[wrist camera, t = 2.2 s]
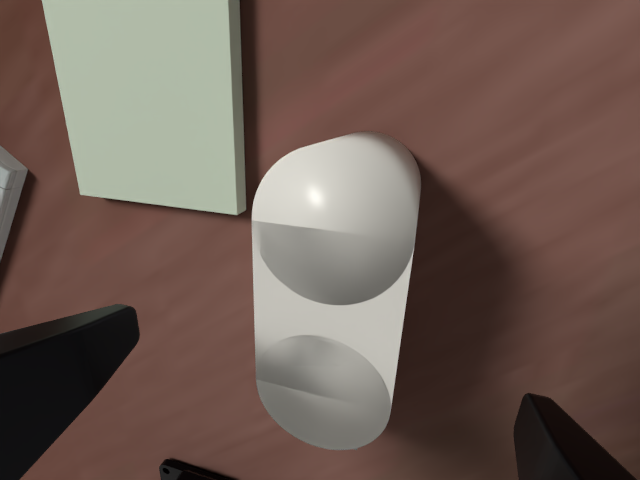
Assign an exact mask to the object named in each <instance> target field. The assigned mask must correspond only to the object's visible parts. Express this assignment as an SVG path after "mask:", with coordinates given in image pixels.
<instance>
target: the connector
mask: <svg viewBox="0 0 640 480" xmlns="http://www.w3.org/2000/svg"><path fill="white" fill-rule="evenodd" d="M420 194H421V176H420V171H419V168H418V165H417V163H416V161H415V159H414V157H413V155H412V154H411V153H410V151H409V150H408V149H407V148H406V147H405V146H404V145H403V144H402V143H401V142H399V141H398V140H396V139H395V138H393V137H391V136H389V135H386V134H383V133H380V132H374V131H362V132H356V133H352V134H349V135H345V136H341V137H338V138H334V139H331V140H327V141H324V142H320V143H317V144H313V145H309V146H306V147H303V148H299V149H297V150H295V151H293V152H291V153H289V154H287V155H286V156H284V157H283V158H281V159H280V160H279V161H278V162H276V163H275V164H274V165H273V166H272V167H271V168H270V170H269V171H268V172H267V173H266V175H265V176H264V178H263V179H262V181H261V183H260V185H259V187H258V189H257V191H256V195H255V198H254V202H253V208H252V248H253V285H254V322H255V359H256V384H257V389H258V393H259V396H260V399H261V401H262V403H263V405H264V407H265V408H266V410H267V411H268V413H269V414H270V416H271V417H272V418H273V419H274V420H275V421H276V422H277V423H278V424H279V425H280V426H281V427H282V428H283V429H284V430H286V431H287V432H288V433H290V434H291V435H293V436H294V437H296V438H298V439H300V440H301V441H304V442H306V443H308V444H311V445H314V446H317V447H321V448H325V449H331V450H349V449H355V450H357V448H359V447H362V446H365V445H367V444H368V443H370V442H372V441H373V440H375V439H376V438H377V437H378V436H379V435H380V434H381V433H382V432H383V430H384V429H385V427H386V425H387V423H388V421H389V417H390V412H391V405H392V398H393V391H394V385H395V378H396V371H397V364H398V357H399V350H400V343H401V336H402V329H403V322H404V315H405V308H406V301H407V294H408V287H409V280H410V273H411V266H412V259H413V252H414V245H415V237H416V228H417V220H418V211H419V203H420Z"/></svg>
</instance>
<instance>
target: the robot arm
mask: <svg viewBox="0 0 640 480" xmlns="http://www.w3.org/2000/svg"><path fill="white" fill-rule="evenodd" d="M139 336H140V333H139V326H138V320H137V314H136V310H135V309H134V308H133V307H131V306H127V305H122V304H115V305H112V306H108V307H104V308H100V309H96V310H92V311H88V312H84V313H80V314H76V315H72V316H68V317H64V318H60V319H57V320H53V321H49V322H45V323H41V324H37V325H33V326H29V327H25V328H21V329H17V330H13V331H9V332H5V333H1V334H0V480H20V478H21V477H22V476H23V475H24V474H25V473H26V472H27V471H28V470H29V469H30V468H31V466H32V465H33V464H34V463H35V462H36V461H37V460H38V459H39V458H40V457H41V456H42V454H43V453H44V452H45V451H46V450H47V449H48V448H49V447H50V446H51V445H52V444H53V443H54V441H55V440H56V439H57V438H58V437H59V436H60V435H61V434H62V433H63V432H64V431H65V429H66V428H67V427H68V426H69V425H70V424H71V423H72V422H73V421H74V420H75V419H76V417H77V416H78V415H79V414H80V413H81V412H82V411H83V410H84V409H85V408H86V407H87V406H88V404H89V403H90V402H91V401H92V400H93V399H94V398H95V397H96V395H97V394H98V393H99V392H100V390H101V389H102V388H103V387H104V385H105V384H106V383H107V382H108V380H109V379H110V378H111V376H112V375H113V374H114V373H115V371H116V370H117V369H118V367H119V366H120V365H121V364H122V362H123V361H124V360H125V358H126V357H127V356H128V355H129V353H130V352H131V351H132V350H133V348H134V347H135V346H136V344H137V342H138V340H139ZM514 444H515V452H516V460H517V469H518V477H519V480H637V479H636V478H635V477H633V476H632V475H631V474H630V473H629V472H628V471H627V470H626V469H625V468H624V467H623V466H622V465H621V464H620V463H619V462H618V461H617V460H616V459H614V458H613V457H612V456H611V455H610V454H609V453H608V452H607V451H606V450H605V449H604V448H603V447H602V446H601V445H600V444H599V443H598V442H596V441H595V440H594V439H593V438H592V437H591V436H590V435H589V434H588V433H587V432H586V431H585V430H584V429H583V428H582V427H581V426H580V425H579V424H577V423H576V422H575V421H574V420H573V419H572V418H571V417H570V416H569V415H568V414H567V413H566V412H565V411H564V410H563V409H562V408H561V407H560V406H558V405H557V404H556V403H555V402H554V401H553V400H552V399H551V398H549V397H545V396H541V395H536V394H531V393H527V394H525V395H524V397H523V399H522V402H521V405H520V408H519V411H518V415H517V418H516V421H515V425H514ZM159 470H160V476H161V480H229V479H226V478H223V477H220V476H217V475H214V474H211V473H208V472H205V471H202V470H199V469H196V468H193V467H190V466H187V465H184V464H181V463H178V462H175V461H172V460H169V459H165V460H164V461H163V463H162V464H161V465H160V467H159Z"/></svg>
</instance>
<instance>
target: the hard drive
mask: <svg viewBox="0 0 640 480" xmlns="http://www.w3.org/2000/svg"><path fill="white" fill-rule="evenodd" d="M27 171H28V169H27V168H26V167H25V166H24V165H23V164H21V163H20V162H19V161H18V160H17V159H15V158H14V157H13V156H12V155H11V154H10V153H8V152H7V151H6V150H5V149H4V148H3V147H1V146H0V261H1V258H2V255H3V251H4V248H5V245H6V241H7V238H8V235H9V231H10V228H11V225H12V221H13V218H14V215H15V211H16V208H17V205H18V201H19V198H20V194H21V191H22V188H23V185H24V181H25V178H26V175H27Z"/></svg>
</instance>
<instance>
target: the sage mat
mask: <svg viewBox="0 0 640 480" xmlns="http://www.w3.org/2000/svg"><path fill="white" fill-rule="evenodd" d="M42 3H43V8H44V13H45V18H46V23H47V28H48V33H49V38H50V43H51V48H52V53H53V59H54V64H55V69H56V74H57V79H58V84H59V89H60V94H61V99H62V104H63V109H64V114H65V119H66V124H67V129H68V134H69V139H70V145H71V150H72V155H73V160H74V165H75V170H76V175H77V180H78V185H79V190H80V195H87V196H94V197H102V198H110V199H117V200H125V201H133V202H141V203H148V204H156V205H164V206H171V207H179V208H187V209H194V210H202V211H210V212H218V213H225V214H233V215H238V214H240V213H242V212H244V211H246V185H245V155H244V124H243V93H242V62H241V32H240V1H239V0H42Z"/></svg>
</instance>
